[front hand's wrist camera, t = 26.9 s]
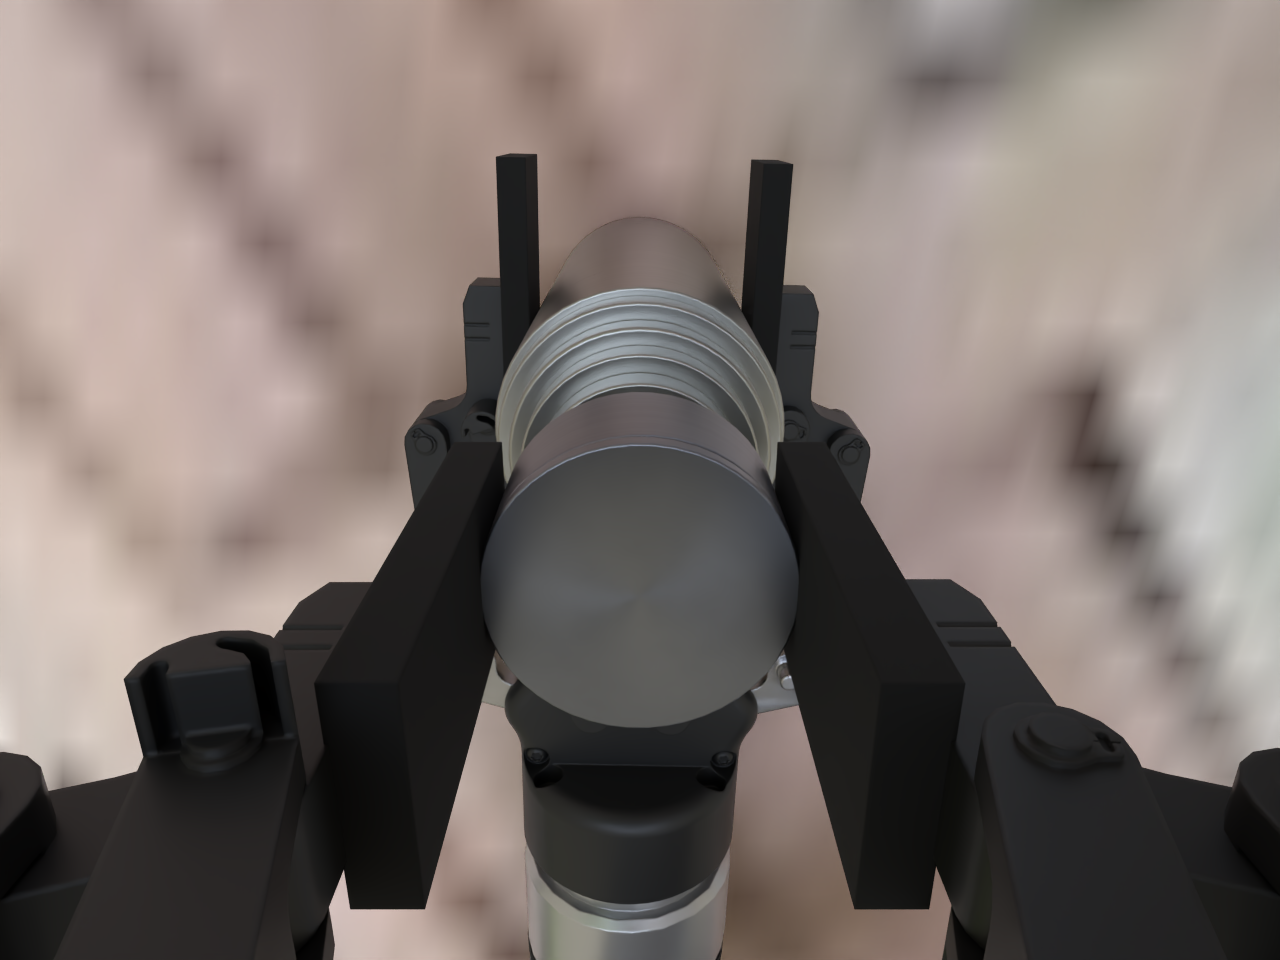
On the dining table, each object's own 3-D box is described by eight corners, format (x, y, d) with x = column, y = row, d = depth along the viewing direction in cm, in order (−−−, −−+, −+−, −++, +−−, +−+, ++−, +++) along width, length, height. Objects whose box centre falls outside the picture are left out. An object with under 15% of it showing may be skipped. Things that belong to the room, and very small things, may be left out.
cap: (828, 467, 14) (863, 532, 12) (694, 677, 16) (703, 771, 13) (575, 341, 13) (562, 385, 11) (460, 574, 15) (428, 655, 13)
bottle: (670, 415, 33) (709, 796, 14) (525, 336, 32) (364, 636, 13) (757, 272, 31) (934, 497, 12) (606, 183, 30) (550, 281, 11)
